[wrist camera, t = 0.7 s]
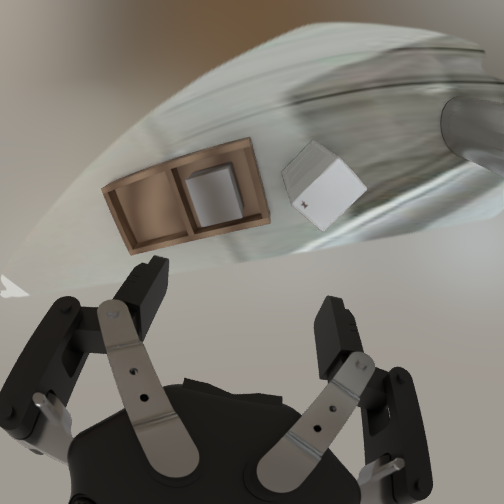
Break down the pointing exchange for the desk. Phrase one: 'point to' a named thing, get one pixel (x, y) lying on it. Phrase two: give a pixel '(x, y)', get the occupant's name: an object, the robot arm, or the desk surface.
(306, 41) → the desk surface
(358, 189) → the skincare box
